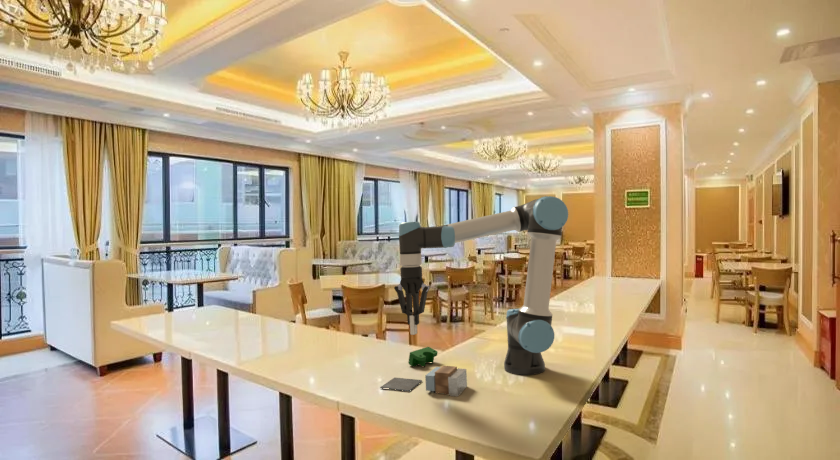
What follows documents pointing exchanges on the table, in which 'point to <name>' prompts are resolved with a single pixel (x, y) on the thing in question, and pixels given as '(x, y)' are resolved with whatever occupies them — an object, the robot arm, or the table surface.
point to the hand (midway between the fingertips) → (413, 333)
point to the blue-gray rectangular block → (431, 380)
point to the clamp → (422, 356)
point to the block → (443, 378)
